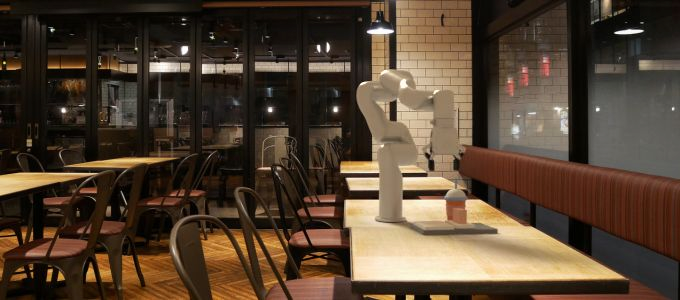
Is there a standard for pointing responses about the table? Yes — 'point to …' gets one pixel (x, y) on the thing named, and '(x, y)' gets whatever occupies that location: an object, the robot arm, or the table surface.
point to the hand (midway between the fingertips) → (443, 170)
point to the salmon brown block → (460, 219)
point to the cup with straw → (454, 200)
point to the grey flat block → (449, 228)
